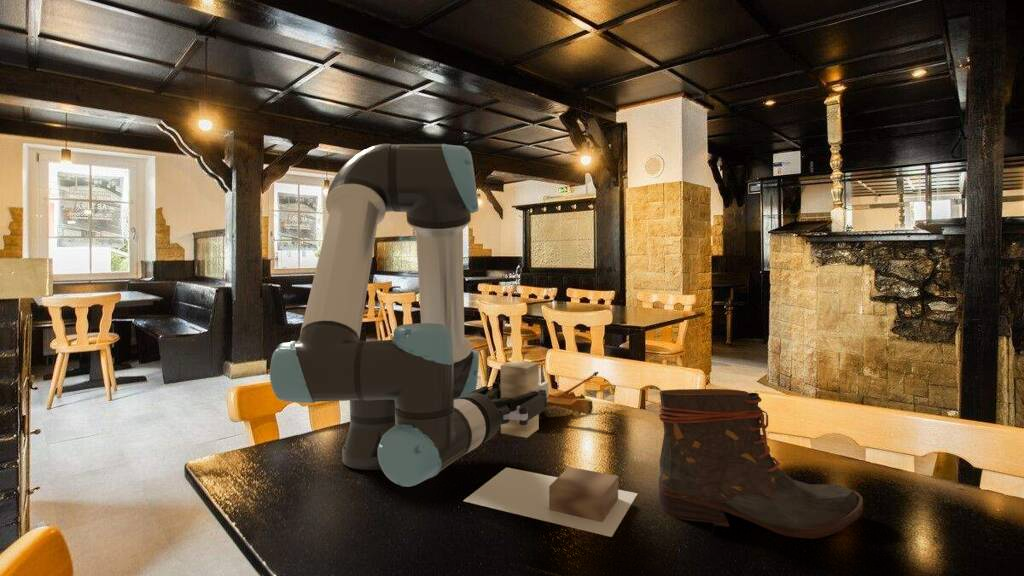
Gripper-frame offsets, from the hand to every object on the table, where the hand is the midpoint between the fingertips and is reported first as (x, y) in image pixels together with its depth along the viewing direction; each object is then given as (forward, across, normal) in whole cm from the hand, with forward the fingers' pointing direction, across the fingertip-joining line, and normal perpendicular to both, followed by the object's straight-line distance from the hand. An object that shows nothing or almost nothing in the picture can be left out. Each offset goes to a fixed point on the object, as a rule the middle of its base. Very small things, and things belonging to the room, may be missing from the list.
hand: (532, 387), depth 97 cm
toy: (+42, -12, -18) cm, 47 cm away
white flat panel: (-5, +6, -18) cm, 19 cm away
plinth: (-5, +12, -17) cm, 22 cm away
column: (-5, 0, -7) cm, 9 cm away
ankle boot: (+4, +38, -18) cm, 42 cm away
